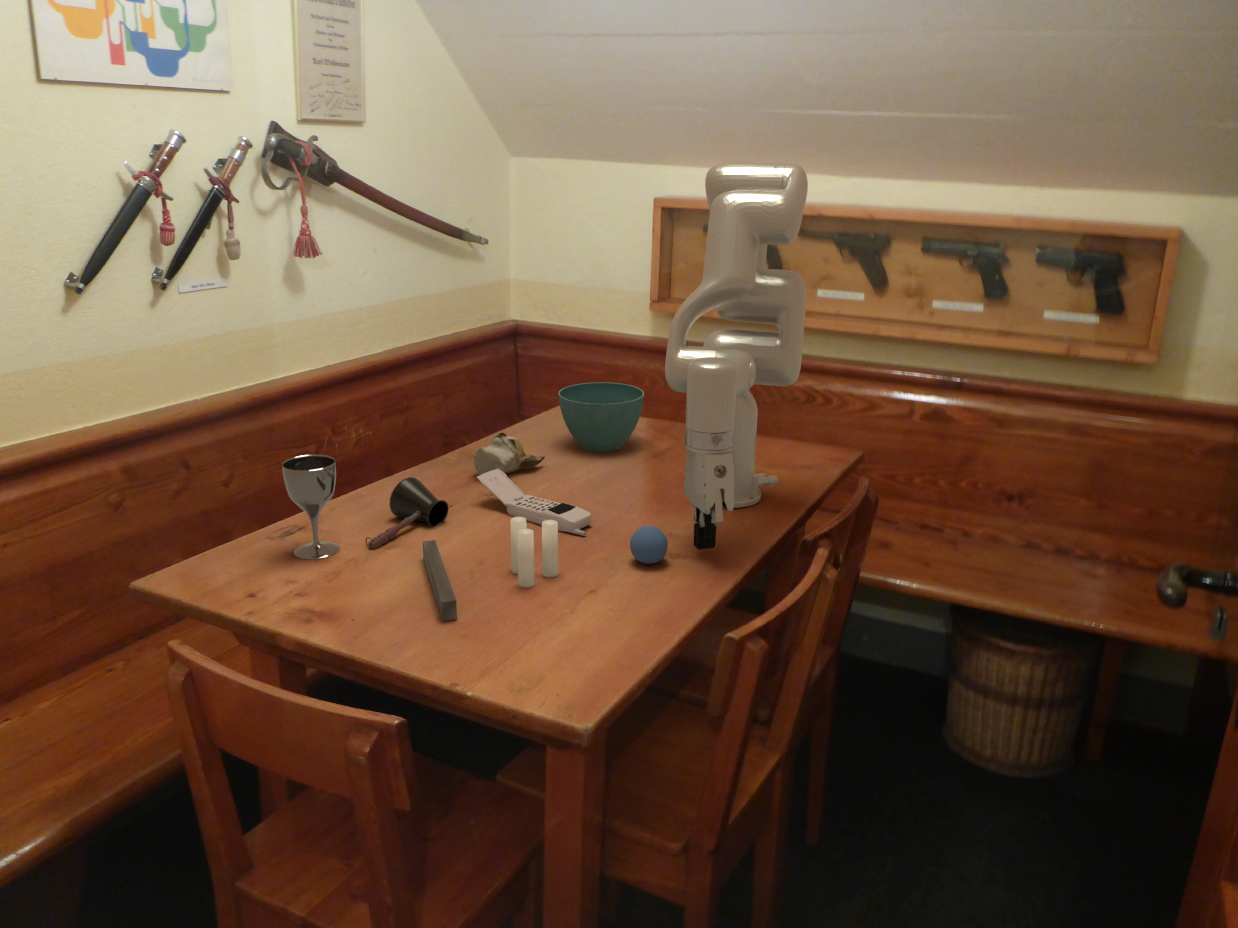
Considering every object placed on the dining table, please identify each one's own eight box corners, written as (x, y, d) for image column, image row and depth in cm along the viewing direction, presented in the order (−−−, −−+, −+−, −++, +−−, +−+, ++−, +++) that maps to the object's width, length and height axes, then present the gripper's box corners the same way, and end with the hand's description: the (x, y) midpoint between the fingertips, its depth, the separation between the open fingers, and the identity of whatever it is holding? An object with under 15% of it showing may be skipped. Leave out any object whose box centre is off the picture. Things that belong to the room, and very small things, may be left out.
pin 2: (532, 579, 148) (531, 527, 146) (536, 586, 146) (535, 533, 143) (516, 581, 148) (515, 529, 145) (520, 588, 145) (519, 535, 143)
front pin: (555, 569, 152) (555, 519, 149) (559, 576, 150) (559, 524, 147) (540, 571, 151) (540, 520, 148) (544, 578, 149) (543, 526, 146)
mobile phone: (496, 467, 181) (602, 497, 166) (498, 497, 183) (603, 529, 168) (473, 476, 176) (580, 507, 162) (474, 506, 178) (580, 540, 164)
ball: (659, 552, 159) (660, 518, 157) (672, 567, 153) (674, 532, 151) (624, 556, 157) (625, 522, 155) (636, 572, 151) (637, 536, 149)
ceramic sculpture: (458, 434, 189) (506, 421, 202) (458, 477, 192) (505, 461, 204) (502, 444, 184) (548, 430, 197) (501, 488, 187) (546, 471, 199)
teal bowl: (612, 465, 200) (613, 408, 196) (541, 450, 209) (541, 394, 206) (658, 444, 215) (659, 390, 211) (590, 430, 224) (590, 378, 220)
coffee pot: (420, 505, 176) (454, 522, 172) (341, 548, 164) (376, 568, 160) (419, 469, 173) (453, 486, 169) (338, 510, 160) (373, 530, 156)
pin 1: (525, 566, 153) (524, 516, 150) (528, 572, 151) (527, 521, 148) (510, 568, 152) (508, 517, 149) (513, 574, 150) (512, 523, 147)
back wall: (436, 557, 156) (435, 540, 155) (457, 619, 136) (456, 600, 135) (423, 558, 155) (422, 541, 154) (442, 621, 135) (441, 602, 134)
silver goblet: (314, 564, 152) (306, 473, 148) (280, 553, 156) (271, 464, 152) (352, 547, 159) (346, 460, 154) (319, 537, 163) (311, 451, 158)
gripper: (751, 450, 146) (745, 562, 152) (712, 423, 159) (708, 527, 165) (705, 454, 144) (700, 568, 149) (669, 426, 157) (666, 532, 163)
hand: (704, 546), depth 157 cm, fingers closed
